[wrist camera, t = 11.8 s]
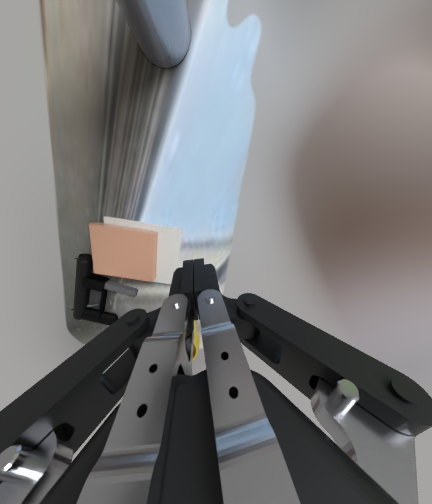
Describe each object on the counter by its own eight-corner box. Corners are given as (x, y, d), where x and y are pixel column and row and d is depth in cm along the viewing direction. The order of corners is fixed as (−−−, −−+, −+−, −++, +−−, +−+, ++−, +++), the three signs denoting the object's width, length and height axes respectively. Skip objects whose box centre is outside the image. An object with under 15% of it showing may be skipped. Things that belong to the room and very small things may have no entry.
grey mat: (105, 216, 36) (103, 216, 35) (182, 228, 37) (181, 229, 36) (109, 273, 41) (107, 274, 40) (177, 284, 41) (176, 285, 41)
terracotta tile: (158, 231, 36) (97, 222, 36) (153, 233, 34) (88, 223, 33) (156, 277, 40) (101, 268, 40) (152, 281, 38) (94, 273, 37)
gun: (138, 274, 38) (68, 254, 36) (126, 333, 45) (65, 319, 42) (144, 268, 42) (80, 250, 39) (131, 324, 48) (75, 311, 45)
